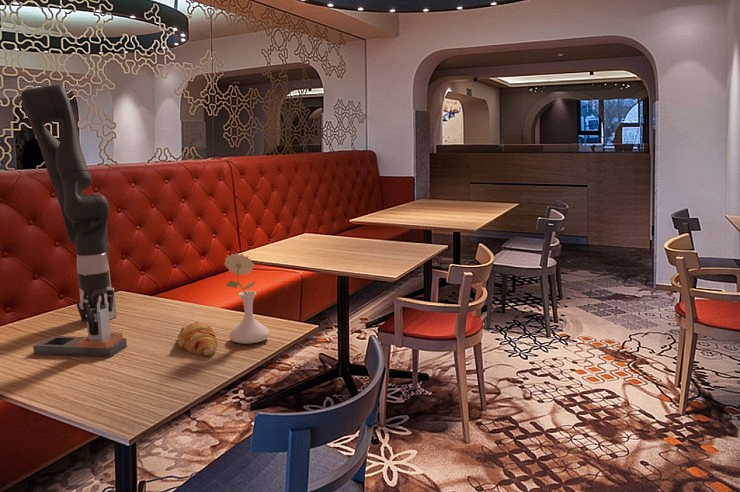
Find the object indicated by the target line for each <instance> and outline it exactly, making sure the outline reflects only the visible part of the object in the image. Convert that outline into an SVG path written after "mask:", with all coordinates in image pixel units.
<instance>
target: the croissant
mask: <svg viewBox="0 0 740 492" xmlns="http://www.w3.org/2000/svg"><path fill="white" fill-rule="evenodd" d="M177 344H178V346H179V347H180V348H181V349H182V350H184V351H186V352H189V353H193V354H197V355H203V356H204V357H205V356H207V357H208V356H212V355H213V354H215V353H216V351H217V350H218V349H217V348H218V340H217V336H216V334H215V331H214V330H213V328H212V327H211V326H209V325H207V324H206V323H203V322H199V321H195V322H194V323H191V324H189V325H187V326H185V327H182V328H181V329H180V332H179V334H178V337H177Z"/></svg>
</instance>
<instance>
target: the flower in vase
mask: <svg viewBox="0 0 740 492" xmlns="http://www.w3.org/2000/svg"><path fill="white" fill-rule="evenodd" d="M224 261H225V262H224V265H225V267H226V269H228V271H229V272H230V273H232V274H236V276H237V277H236V281H235V280H229V281H228V282H227V283H226V285H225V287H229V288H232V289H233V288H234V289H237V288H238V287H240V289H241V290H242V291H240V292H238V297H240V298H241V301H242V304H243V311H244V316H243V319H242V321H241V322H239V323H238V324H237V325H236V326H235V327H234V328H233V329H232V330H231V331H230V332H229V334H228V337H229V339H230V341H232V342H235V343H237V344H244V345H245V344H247V345H248V344H256V343H260V342H262V341H265V340H266V339H268V338H269V337H270V336H271V332H270V329H268V328H267V327H266V326H265V325H264V324H262V323H260V322H259V321H258V320H257V319H255V317H254V314H253V307H254V306H253V304H254V303H253V302H254V299H255V296H256V295H257V292H256V291H255V290H253V291H252V290H248V289H249V288H251V287H253V286H254V284H255V283H256V281H252V282H250V283H248V284H247V285H245V287H244V288H243V286H242V284H241V283H240V281H239V276H240V275H241V276H243V275H244V276H245V275H248V274H249V273H253V270H254V267H255V265H254V262H252V259H251V258H249V256H247V255H246V256H244V253H236V252H235V253H232V254H230V255H227V257H225V260H224ZM246 289H247V290H246Z"/></svg>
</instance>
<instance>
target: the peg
mask: <svg viewBox="0 0 740 492" xmlns="http://www.w3.org/2000/svg"><path fill="white" fill-rule="evenodd" d="M90 310H95V309H90ZM92 316H93V313H92ZM97 316H98V319H97V321H98V330H99V334H98V335H90V332H89V323H88V322H87V323H86V326H87V336H88V339H89V341H105V340H107V339H108V338H110V337H111V333H112V332H111V323H110V322H111V321H110V320H109V310H108V308H100V312H98V313H97Z"/></svg>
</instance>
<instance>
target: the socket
mask: <svg viewBox="0 0 740 492" xmlns="http://www.w3.org/2000/svg"><path fill="white" fill-rule="evenodd" d="M127 347H128V344H127V338H126V337H123V332H111V337H110V338H108V339H107V340H105V341H89V339H88V335H87V336H72V335H71V336H69V335H67V336H65V335H64V336H63V335H62V336H61V335H52V336H50V337H47V338H45V339H43V340H42V341H40V342H37V343H35V344H34V345H32V349H33V350H32V351H33V355H34V356H63V357H64V356H65V357H66V356H67V357H88V358H89V357H90V358H91V357H93V358H95V357H96V358H112V357H114V356H115V355H117V354H118V353H120V352H122V351H123V350H124V349H126V348H127Z"/></svg>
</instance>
